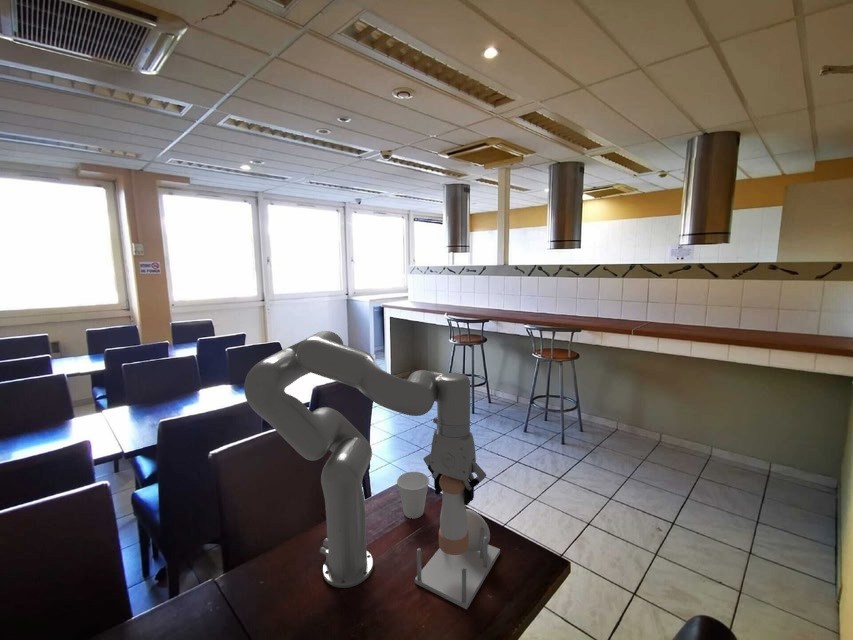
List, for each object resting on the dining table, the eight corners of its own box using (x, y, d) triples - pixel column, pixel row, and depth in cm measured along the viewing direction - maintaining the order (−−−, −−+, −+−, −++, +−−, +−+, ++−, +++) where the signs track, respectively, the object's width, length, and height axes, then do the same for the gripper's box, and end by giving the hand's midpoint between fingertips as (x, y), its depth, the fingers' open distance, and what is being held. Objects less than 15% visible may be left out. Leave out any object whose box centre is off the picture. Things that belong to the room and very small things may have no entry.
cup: (416, 528, 116) (415, 493, 114) (390, 515, 122) (390, 482, 120) (436, 510, 124) (435, 478, 122) (411, 499, 130) (410, 468, 128)
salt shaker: (465, 533, 101) (466, 463, 98) (471, 554, 94) (471, 479, 91) (437, 534, 100) (436, 464, 97) (440, 556, 93) (440, 481, 90)
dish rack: (414, 583, 97) (414, 537, 95) (453, 534, 113) (453, 494, 111) (466, 609, 89) (467, 561, 87) (499, 553, 106) (501, 511, 104)
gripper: (413, 424, 93) (414, 493, 96) (481, 442, 84) (480, 518, 87) (430, 413, 100) (430, 479, 103) (495, 429, 91) (493, 500, 94)
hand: (453, 496), depth 95 cm, fingers closed on salt shaker, 7 cm apart
